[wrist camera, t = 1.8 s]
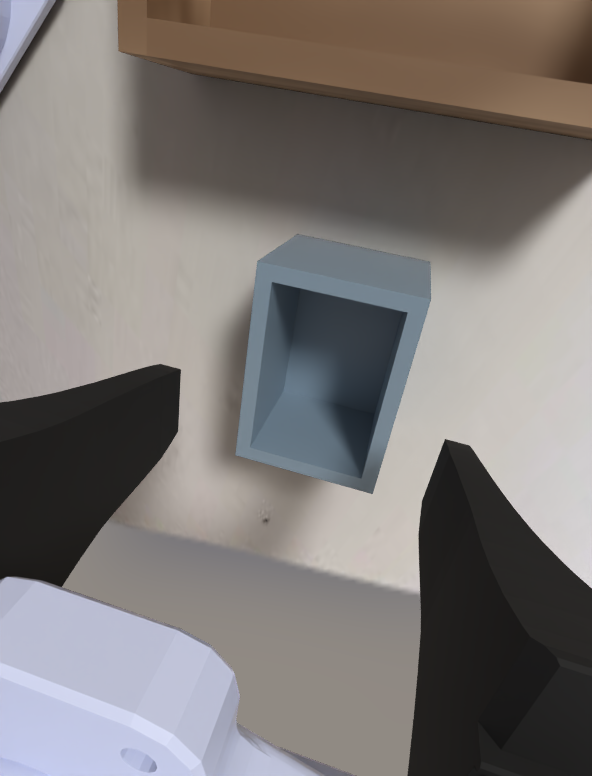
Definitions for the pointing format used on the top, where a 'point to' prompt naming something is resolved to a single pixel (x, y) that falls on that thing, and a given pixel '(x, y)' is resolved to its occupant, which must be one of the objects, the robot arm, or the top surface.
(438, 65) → the big crate
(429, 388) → the top surface
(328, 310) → the small crate
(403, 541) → the top surface
